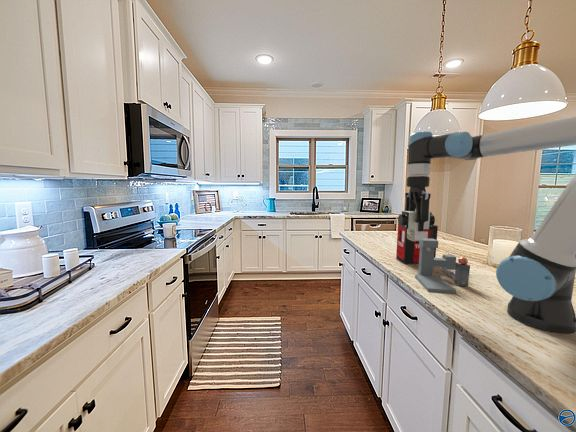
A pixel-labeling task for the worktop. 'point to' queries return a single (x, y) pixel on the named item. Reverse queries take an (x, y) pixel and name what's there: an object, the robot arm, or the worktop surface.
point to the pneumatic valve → (413, 222)
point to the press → (429, 262)
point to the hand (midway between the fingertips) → (414, 238)
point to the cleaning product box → (412, 245)
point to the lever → (460, 272)
